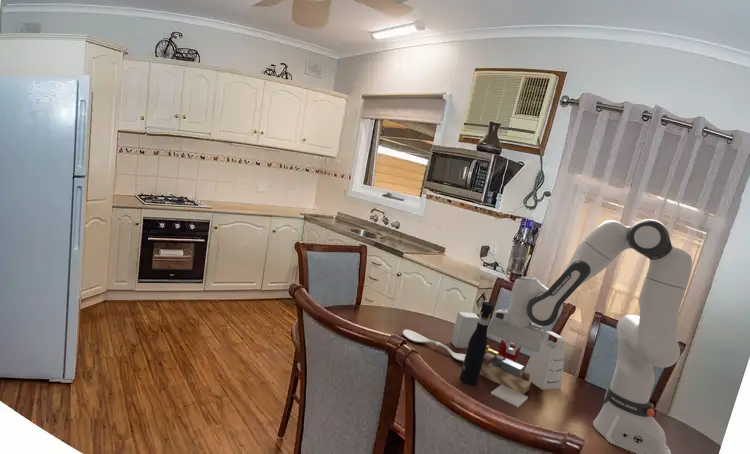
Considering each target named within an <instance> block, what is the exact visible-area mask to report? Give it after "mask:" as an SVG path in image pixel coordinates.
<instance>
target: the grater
mask: <svg viewBox="0 0 750 454" xmlns="http://www.w3.org/2000/svg"><path fill="white" fill-rule="evenodd" d="M545 332H546V334H545V337H544V339H543V345H542V349H541V350H540V351H538V352H535V351H532V352H531V354H530V357H529V359H528V361H527V363H526V365H525V366H524V369H523V371H526V372H528V373H530V374H531V375H530V377H532V380H531V384H534V385H535V386H536V387H537V388H538V389H540V390H542V391H543V390H554V389H561V388H562V384H563V383H562V382H563V373H564V367H565V359H566V358H565V357H566V351H567V350H566V348H565V347H564V345H565V339H564V337H563V336H561V335H559V334H558V333H556V332H554V331H547V330H545ZM550 335H551V336H552V337H555V338H556V339H557V343H556V342H554V341H553V340H551V339H550V340H549V337H550ZM548 382H550V383H548Z"/></svg>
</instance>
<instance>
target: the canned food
mask: <svg viewBox="0 0 750 454" xmlns="http://www.w3.org/2000/svg"><path fill="white" fill-rule="evenodd" d="M500 339H501V338H500ZM505 341H506V340H504V339H501V341H500V344H499V348H498V351H497V352H499V353H498V355H500V356H502V357H504V360H505V359H506V358H507V359H509V360H511V361H513V362H516V363H518V359H519V355H520V351H521V348H522V346H520V347H519V348H518V349H517V350H516V352H515V355H512V354H510V353H507V352H506V350H507V347H506V344H505ZM509 344H510V348H513V349H515V348H516V347H515V344H514V343H512V342H511V343H509Z"/></svg>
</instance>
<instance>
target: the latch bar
mask: <svg viewBox="0 0 750 454" xmlns="http://www.w3.org/2000/svg"><path fill="white" fill-rule="evenodd" d="M485 353H490V354H493V355H495V356H497V355H498V353H499V352H498V351H496V350H494V349H492V348H490V345H488V344H487V347H486V351H485Z"/></svg>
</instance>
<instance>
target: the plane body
mask: <svg viewBox="0 0 750 454" xmlns="http://www.w3.org/2000/svg"><path fill="white" fill-rule="evenodd" d="M503 360H504V357H502V356H500V355H497V356H495V355H493V354H490V353H488V352H486V353H485V355H484V359H483V363H482V367H481V370H480V374H479V376H482V377H484V378H487V379H488V380H490V381H492V382H495V383H496V384H498V385H499V386H500V385H501V384H502V385H504V386H506V387H508V388H510V389H513V390H515V391H517V392H519V393H521V394H523V395H525V394H526V393H527V392H528V391H529V390H530V387H531V384H532V382H531V380H532V377H530V375H531V374H530V373H528V372H526V371H524V370H523V372H522V375H520V376H519V377H516V376H514V375H512V374H509V373H507V372H505V371H503V370H501V369H500V367H501V363H502V361H503Z"/></svg>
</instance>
